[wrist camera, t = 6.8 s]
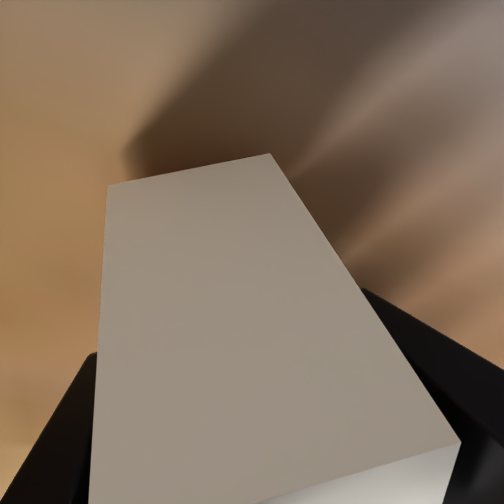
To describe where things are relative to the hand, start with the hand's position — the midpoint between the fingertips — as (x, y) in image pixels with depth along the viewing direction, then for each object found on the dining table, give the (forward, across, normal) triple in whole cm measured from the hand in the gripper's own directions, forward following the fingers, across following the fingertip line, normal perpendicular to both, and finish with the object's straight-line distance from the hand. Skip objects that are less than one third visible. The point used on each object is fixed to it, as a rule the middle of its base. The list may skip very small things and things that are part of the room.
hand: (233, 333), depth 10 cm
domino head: (+6, 0, 0) cm, 6 cm away
